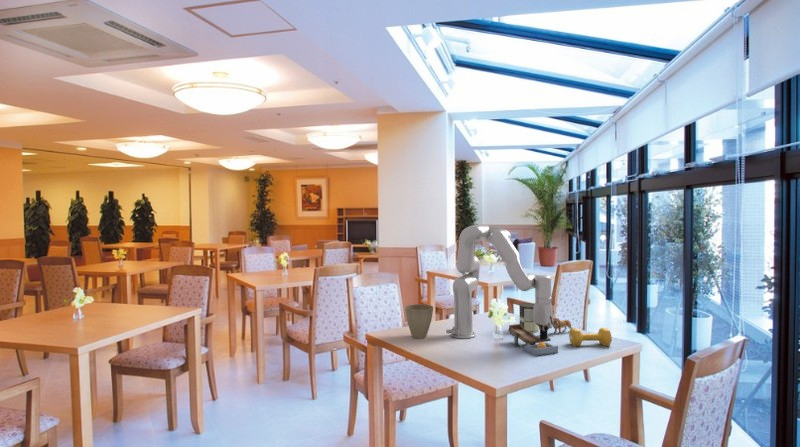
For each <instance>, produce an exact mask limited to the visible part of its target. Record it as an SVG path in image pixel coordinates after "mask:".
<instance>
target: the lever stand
mask: <svg viewBox="0 0 800 447" xmlns="http://www.w3.org/2000/svg"><path fill="white" fill-rule="evenodd" d="M531 333H532V332H531ZM532 334H534V333H532ZM513 337H514V338H513V340H514V342H513V343H511V344H510V345H511V346H513V347H514V348H520V344H519V338H518V335H517V334H514V336H513ZM531 345H537V343H533V344H531Z"/></svg>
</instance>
